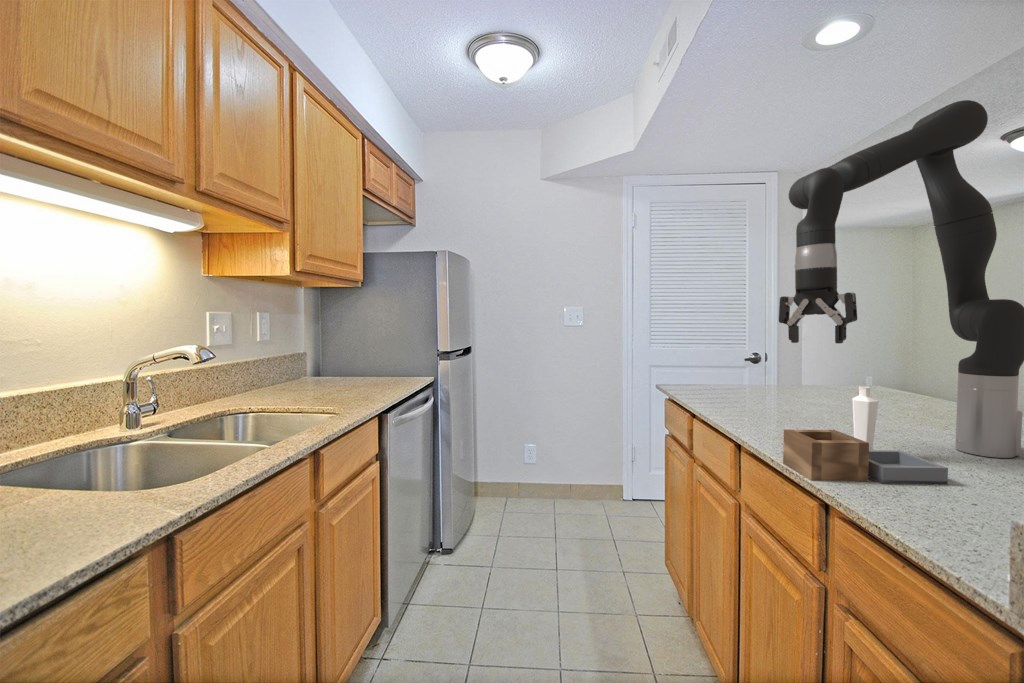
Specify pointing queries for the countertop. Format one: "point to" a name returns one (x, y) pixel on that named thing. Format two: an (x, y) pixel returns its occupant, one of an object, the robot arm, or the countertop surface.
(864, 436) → the perfume bottle
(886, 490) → the countertop surface
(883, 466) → the tray
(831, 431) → the wooden cubby box
